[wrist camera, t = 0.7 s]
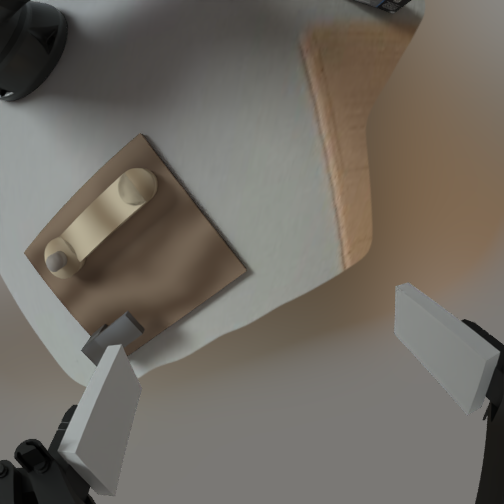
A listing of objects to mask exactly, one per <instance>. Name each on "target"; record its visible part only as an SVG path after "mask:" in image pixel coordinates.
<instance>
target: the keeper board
mask: <svg viewBox="0 0 504 504" xmlns="http://www.w3.org/2000/svg"><path fill="white" fill-rule="evenodd" d="M133 168H145V169H148V170H150V171H151V172H152V173H153V174H154V175H155V176H156V178H157V182H158V189H157V192H156V194H155V196H154V197H153V198H152V199H151V200H150V201H149V202H148V203H146V204H145V205H144V206H143V207H142V208H141V209H139V210H138V211H137V212H136V213H135V214H134V215H133V216H131V217H130V218H129V219H128V220H127V221H126V222H125V223H123V224H122V225H121V226H120V227H119V228H118V229H117V230H116V231H115V232H114V233H112V234H111V235H110V236H109V237H108V238H107V239H106V240H105V241H104V242H103V243H102V244H101V245H100V246H98V247H97V248H96V249H95V250H94V251H93V252H92V253H91V254H90V255H89V256H88V257H87V258H86V260H85V264H84V266H83V267H82V268H81V269H80V270H79V271H78V272H76V273H75V274H74V275H72V276H71V277H69V278H66V279H61V278H58V277H56V276H55V275H53V274H52V273H51V272H50V270H49V269H48V267H47V265H46V262H45V256H44V255H45V249H46V246H47V244H48V243H49V242H50V241H51V240H53V239H55V238H57V237H59V236H61V234H62V233H63V232H64V231H65V230H66V229H67V228H68V227H69V226H70V225H71V224H72V223H73V222H74V221H75V220H76V219H77V218H78V217H79V215H80V214H81V213H82V212H83V211H84V210H85V209H86V208H87V207H88V206H89V205H90V204H91V203H92V202H93V201H95V200H96V199H97V198H98V197H99V196H100V195H101V194H102V193H103V192H104V191H105V190H106V189H107V188H108V187H109V186H110V185H111V184H112V183H114V182H115V181H116V180H117V179H118V178H119V177H120V176H121V175H122V174H123V173H125V172H126V171H127V170H130V169H133ZM24 254H25V255H26V256H27V258H28V259H29V261H30V262H31V264H32V265H33V266H34V268H35V269H36V270H37V272H38V273H39V274H40V276H41V277H42V278H43V280H44V281H45V282H46V284H47V285H48V286H49V288H50V289H51V290H52V291H53V293H54V294H55V295H56V296H57V298H58V299H59V300H60V301H61V302H62V304H63V305H64V306H65V307H66V308H67V310H68V311H69V312H70V313H71V314H72V316H73V317H74V318H75V319H76V320H77V321H78V322H79V324H80V325H81V326H82V327H83V328H84V329H85V330H86V331H87V332H88V333H89V335H90V336H91V337H90V338H89V340H88V341H87V343H86V344H85V346H84V347H83V348H82V350H81V351H82V352H83V353H84V354H85V355H86V356H87V357H88V358H89V359H90V360H91V361H92V362H93V363H94V364H95V365H96V366H98V364H99V362H100V360H101V358H102V356H103V354H104V352H105V350H106V349H107V347H108V346H112V345H120V344H122V346H123V348H124V351H125V353H126V355H127V356H128V355H130V354H131V353H133V352H134V351H136V350H137V349H138V348H140V347H141V346H143V345H144V344H145V343H147V342H148V341H150V340H151V339H153V338H154V337H155V336H157V335H158V334H160V333H161V332H162V331H164V330H165V329H167V328H168V327H169V326H171V325H172V324H174V323H175V322H176V321H178V320H179V319H181V318H182V317H183V316H185V315H186V314H188V313H189V312H190V311H192V310H193V309H195V308H196V307H197V306H199V305H200V304H202V303H203V302H204V301H206V300H207V299H209V298H210V297H211V296H213V295H214V294H216V293H217V292H218V291H220V290H221V289H222V288H224V287H225V286H227V285H228V284H229V283H231V282H232V281H234V280H235V279H236V278H238V277H239V276H240V275H242V274H243V273H245V272H246V271H247V270H246V267H245V266H244V265H243V264H242V262H241V261H240V260H239V259H238V257H237V256H236V255H235V253H234V252H233V251H232V250H231V248H230V247H229V246H228V245H227V243H226V242H225V241H224V239H223V238H222V237H221V236H220V234H219V233H218V232H217V231H216V229H215V228H214V227H213V225H212V224H211V223H210V222H209V220H208V219H207V218H206V216H205V215H204V214H203V213H202V211H201V210H200V209H199V207H198V206H197V205H196V204H195V202H194V201H193V200H192V198H191V197H190V196H189V195H188V193H187V192H186V191H185V189H184V188H183V187H182V185H181V184H180V183H179V182H178V180H177V179H176V178H175V176H174V175H173V174H172V172H171V171H170V170H169V169H168V167H167V166H166V165H165V163H164V162H163V161H162V159H161V158H160V157H159V155H158V154H157V153H156V152H155V150H154V149H153V148H152V146H151V145H150V144H149V142H148V141H147V140H146V138H145V137H144V136H143V134H141V133H140V134H139V135H137V136H136V137H135V138H134V139H133V140H132V141H130V142H129V143H128V144H127V145H126V146H125V147H123V148H122V149H121V150H120V151H119V152H118V153H117V154H116V155H115V156H113V157H112V158H111V159H110V160H109V161H108V162H107V163H106V164H105V165H104V166H103V167H102V168H101V169H99V170H98V171H97V172H96V173H95V174H94V175H93V176H92V177H91V178H90V179H89V180H88V181H87V182H86V183H85V184H84V185H83V186H82V187H81V188H80V189H79V190H78V191H77V192H76V193H75V194H74V195H73V196H72V198H71V199H70V200H69V201H68V202H67V203H66V204H65V205H64V206H63V207H62V208H61V209H60V210H59V212H58V213H57V214H56V215H55V216H54V217H53V218H52V219H51V221H50V222H49V223H48V224H47V225H46V226H45V227H44V229H43V230H42V231H41V232H40V233H39V235H38V236H37V237H36V238H35V239H34V241H33V242H32V243H31V244H30V246H29V247H28V248H27V249H26V251H25V252H24Z"/></svg>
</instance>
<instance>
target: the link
mask: <svg viewBox="0 0 504 504" xmlns="http://www.w3.org/2000/svg"><path fill="white" fill-rule="evenodd" d="M157 189H158V182H157V178H156V176H155V175H154V174H153V173H152V172H151V171H150V170H148V169H145V168H133V169H130V170H127V171H126V172H125V173H123V174H122V175H121V176H120V177H119V178H118V179H117V180H116V181H115V182H114V183H112V184H111V185H110V186H109V187H108V188H107V189H106V190H105V191H104V192H103V193H102V194H101V195H100V196H99V197H98V198H97V199H96V200H95V201H93V202H92V203H91V204H90V205H89V206H88V207H87V208H86V209H85V210H84V211H83V212H82V213H81V214H80V215H79V217H78V218H77V219H76V220H75V221H74V222H73V223H72V224H71V225H70V226H69V227H68V228H67V229H66V230H65V231H64V232H63V233H62V234H61V236H59V237H57V238H55V239H53V240H51V241H50V242H49V243H48V244H47V246H46V249H45V255H44V256H45V262H46V265H47V267H48V269H49V270H50V272H51V273H52V274H53V275H55V276H56V277H58V278H61V279H66V278H69V277H71V276H72V275H74V274H75V273H76V272H78V271H79V270H80V269H81V268H82V267H83V266H84V264H85V260H86V258H87V257H88V256H89V255H90V254H91V253H92V252H93V251H94V250H95V249H96V248H97V247H98V246H100V245H101V244H102V243H103V242H104V241H105V240H106V239H107V238H108V237H109V236H110V235H111V234H112V233H114V232H115V231H116V230H117V229H118V228H119V227H120V226H121V225H122V224H123V223H125V222H126V221H127V220H128V219H129V218H130V217H131V216H133V215H134V214H135V213H136V212H137V211H138V210H139V209H141V208H142V207H143V206H144V205H145V204H146V203H148V202H149V201H150V200H151V199H152V198H153V197H154V196H155V194H156V192H157Z"/></svg>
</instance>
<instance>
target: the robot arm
mask: <svg viewBox="0 0 504 504" xmlns="http://www.w3.org/2000/svg"><path fill="white" fill-rule="evenodd" d="M66 39H67V22H66V19H65V17H64V16H63V14H62V13H61V12H60V11H58V10H57V9H56V8H55V7H53V6H52V5H49V4H46V3H40V2H34V1H30V0H0V100H5V101H14V100H17V99H20V98H22V97H24V96H26V95H28V94H29V93H31V92H32V91H34V90H35V89H36V88H37V87H38V86H39V85H40V84H41V83H42V82H43V81H44V80H45V79H46V78H47V77H48V75H49V74H50V73H51V71H52V70H53V69H54V67H55V65H56V64H57V62H58V60H59V58H60V56H61V54H62V52H63V49H64V46H65V43H66ZM394 334H395V335H396V336H397V338H398V339H399V340H400V341H401V342H402V343H403V344H404V345H405V346H406V347H407V348H408V349H409V350H410V352H411V353H412V354H413V355H414V356H415V357H416V358H417V359H418V360H419V361H420V362H421V363H422V365H423V366H424V367H425V368H426V369H427V370H428V371H429V372H430V373H431V374H432V376H433V377H434V378H435V379H436V380H437V381H438V382H439V384H440V385H441V386H442V387H443V388H444V389H445V390H446V391H447V392H448V394H449V395H450V396H451V397H452V398H453V399H454V401H455V402H456V403H457V404H458V405H459V406H460V408H461V409H462V410H463V411H464V412H465V413H466V415H469V414H471V413H473V412H474V411H476V410H477V409H479V408H481V407H482V404H483V402H484V399H485V396H486V397H487V398H488V399H489V400H490V403H489V406H488V408H487V410H486V412H485V415H484V417H483V420H485V419H486V417H487V415H488V418H487V432H486V442H485V451H484V459H483V466H482V472H481V478H480V483H479V489H478V493H477V498H476V502H475V504H504V345H503V344H502V343H501V342H499V341H498V340H497V339H495V338H494V337H493V336H491V335H489V334H488V332H486V331H485V330H483V329H482V328H481V327H480V326H478V325H477V324H476V323H474V322H471V321H468V320H466V319H464V320H462V321H460V320H459V319H458V318H456V317H455V316H454V315H452V314H451V313H449V312H448V311H447V310H446V309H444V308H443V307H442V306H440V305H439V304H438V303H436V302H435V301H434V300H432V299H431V298H429V297H428V296H426V295H425V294H424V293H422V292H421V291H420V290H418V289H417V288H415V287H414V286H413V285H411V284H410V283H405V284H402V285H398V286H396V297H395V327H394ZM141 390H142V387H141V385H140V383H139V381H138V379H137V377H136V375H135V373H134V371H133V368H132V366H131V364H130V362H129V360H128V358H127V355H126V353H125V351H124V348H123V346H122V344H120V345H112V346H108V347H107V349H106V350H105V352H104V354H103V356H102V358H101V360H100V362H99V364H98V366H97V368H96V370H95V372H94V374H93V376H92V378H91V380H90V382H89V384H88V386H87V388H86V390H85V392H84V394H83V396H82V398H81V400H80V402H79V404H78V405H73V406H72V407H71V408H70V409H69V410H68V411H67V412H66V413H65V415H64V417H63V419H62V423H61V424H60V425H59V427H58V431H57V432H56V434H55V436H54V438H53V440H52V442H51V445H50V447H49V449H48V451H47V450H46V448H45V447H44V446H43V445H42V443H41V442H40V441H38V440H36V439H29V440H26V441H24V442H23V443H21V444H20V445H19V446H18V447H17V448H16V451H15V456H14V457H15V459H16V460H17V461H18V463H19V464H20V465H21V466H22V467H23V468H16V467H14V465H13V464H12V463H11V462H10V461H7V460H1V461H0V504H96V503H95V502H94V500H93V498H92V497H91V496H90V495H89V494H88V492H89V488H90V487H91V488H92V489H93V490H94V491H95V492H96V493H97V494H100V495H109V496H115V494H116V490H117V485H118V481H119V476H120V472H121V467H122V463H123V459H124V455H125V451H126V446H127V442H128V438H129V435H130V430H131V427H132V423H133V419H134V415H135V412H136V408H137V405H138V401H139V397H140V394H141Z"/></svg>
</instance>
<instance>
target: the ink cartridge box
mask: <svg viewBox="0 0 504 504" xmlns="http://www.w3.org/2000/svg"><path fill="white" fill-rule="evenodd" d="M355 1H358V2H361V3H365V4H368V5H371V6H374V7H377V8H380V9H382V10H385V11H388V12H390V13H395V12H396V11H397V10H399V9H400V8H401V7H403V6H404V5H406V4H407V3H408V2H410V1H411V0H355Z"/></svg>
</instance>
